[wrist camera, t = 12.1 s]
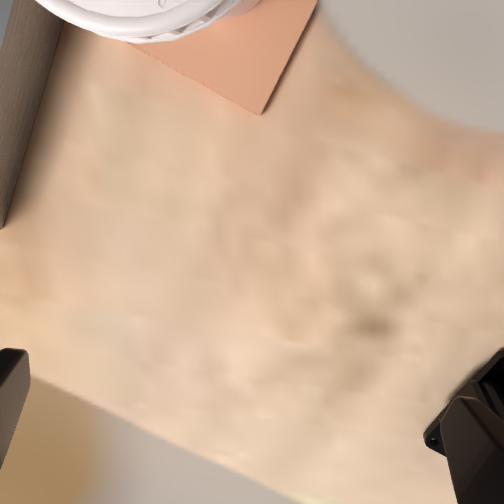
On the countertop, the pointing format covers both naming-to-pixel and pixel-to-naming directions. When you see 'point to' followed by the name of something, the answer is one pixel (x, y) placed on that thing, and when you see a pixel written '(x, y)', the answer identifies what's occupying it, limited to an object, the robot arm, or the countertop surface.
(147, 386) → the countertop surface
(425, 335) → the countertop surface
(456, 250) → the countertop surface
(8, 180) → the socket block
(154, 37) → the smoothie
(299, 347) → the countertop surface
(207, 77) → the tile
